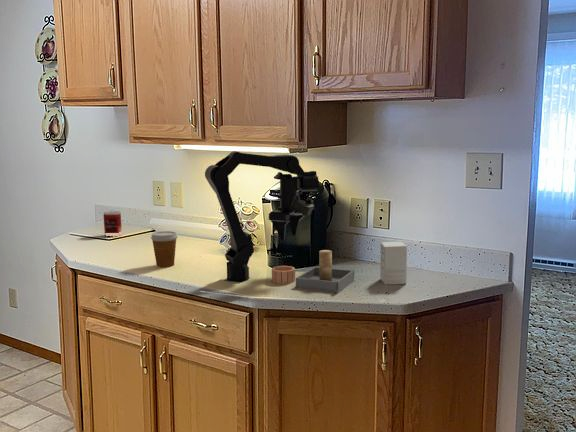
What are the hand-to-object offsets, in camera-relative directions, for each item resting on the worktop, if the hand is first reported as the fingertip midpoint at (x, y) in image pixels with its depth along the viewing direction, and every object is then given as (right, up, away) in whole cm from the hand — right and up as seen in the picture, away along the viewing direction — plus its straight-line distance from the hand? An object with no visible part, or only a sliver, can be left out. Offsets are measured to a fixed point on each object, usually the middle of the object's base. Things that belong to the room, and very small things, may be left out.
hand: (288, 237), depth 211 cm
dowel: (+12, -14, -12) cm, 22 cm away
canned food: (-81, -2, +76) cm, 111 cm away
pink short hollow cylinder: (-2, -14, -8) cm, 16 cm away
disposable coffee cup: (-45, -11, +17) cm, 50 cm away
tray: (+12, -15, -11) cm, 22 cm away
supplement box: (+34, -14, -8) cm, 38 cm away
